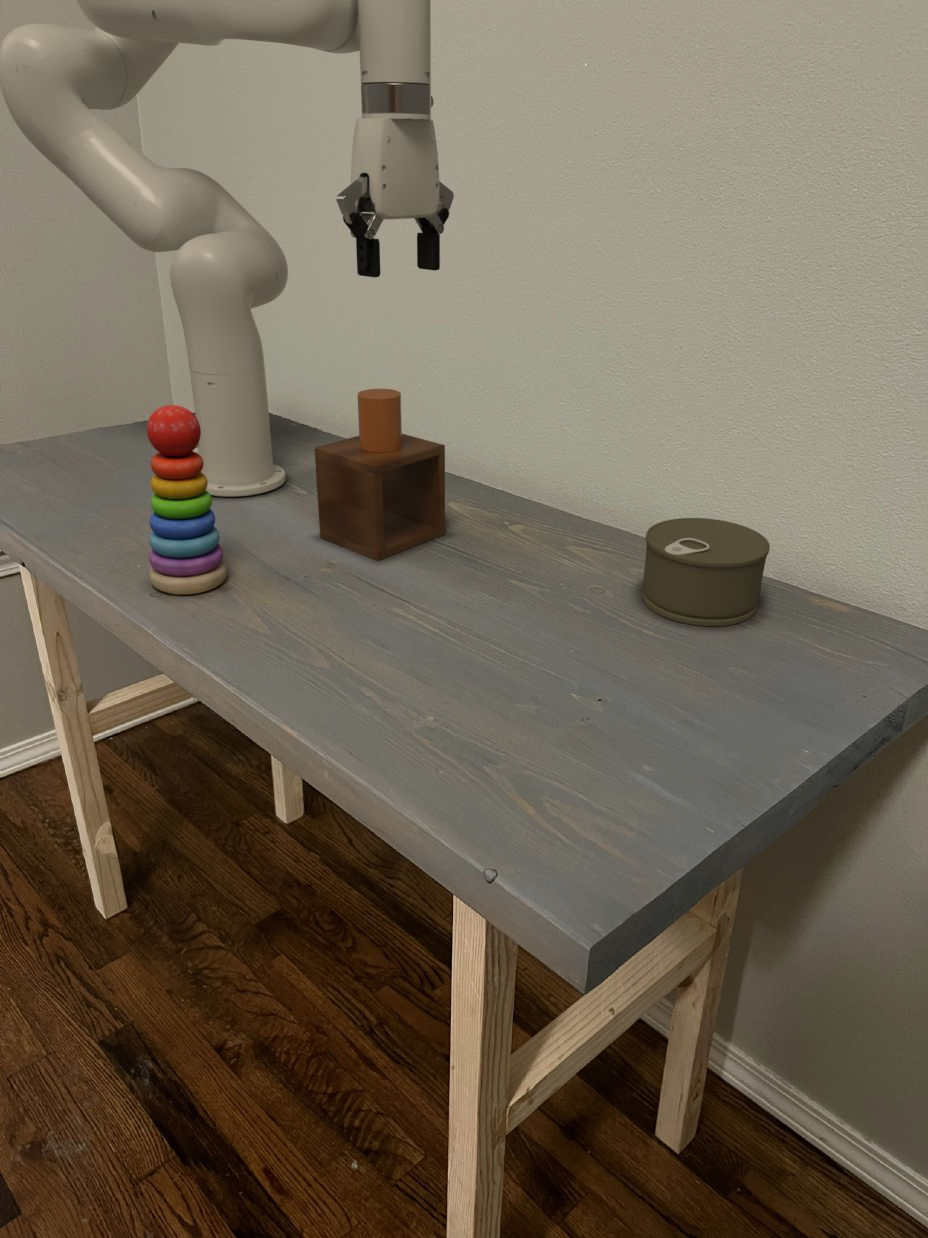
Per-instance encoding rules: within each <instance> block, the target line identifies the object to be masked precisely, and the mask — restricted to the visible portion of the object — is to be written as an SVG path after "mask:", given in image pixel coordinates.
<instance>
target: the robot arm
mask: <svg viewBox="0 0 928 1238" xmlns="http://www.w3.org/2000/svg"><path fill="white" fill-rule="evenodd" d="M76 1H77V4H78V6H79V8H80V10H81V12H82V13H83V14H84V16H85V17H86V19H87V20H89V22H90V23H91V24H93V25H94V26H95V28H94V30H90V29H83V28H78V27H72V26H66V25H60V24H55V23H44V22H39V23H37V22H36V23H30V24H24V25H21V26H19V27H16V28H14V29H13V30H11V31H10V32H9V33H7V35H6V36H4V38H3V40H2V42H1V44H0V90H1V92H2V97H3V99H4V102H5V104H6V107H7V109H8V111H9V113H10V116H11V118H12V119H13V121H14V123H15V124H16V125H17V127H18V129H19V130H20V131H21V133H22V134H23V136H24V137H25V138H26V139H27V140H28V141H29V142H30V143H31V145H32V146H33V147H34V148H35V149H36V150H37V151H38V152H39V153H40V154H41V155H42V156H44V158H46V159H47V160H48V161H49V162H50V163H51V164H52V165H53V166H55V168H57V169H58V170H59V171H60V172H61V173H62V174H63V175H64V176H66V177H67V178H68V179H69V180H70V181H71V182H72V183H73V184H74V185H75V186H76V187H77V188H78V189H79V190H80V191H81V192H82V193H83V194H84V195H85V196H86V197H87V198H88V199H89V200H90V201H91V202H92V203H93V204H94V205H95V206H96V207H97V208H98V209H99V210H100V211H101V212H102V213H103V214H104V215H105V216H106V217H107V218H108V219H109V220H111V222H112V223H113V224H114V225H115V226H117V228H119V229H120V230H121V232H122V233H123V234H125V235H126V236H127V237H128V238H129V240H131V241H132V242H133V243H134V244H135V245H137V246H138V247H140V248H141V249H143V250H145V251H149V252H153V253H165V252H174V251H176V252H175V254H174V256H173V258H172V261H171V264H170V271H169V272H170V275H169V276H170V277H169V278H170V286H171V292H172V294H173V298H174V302H175V304H176V307H177V310H178V314H179V318H180V321H181V325H182V330H183V334H184V341H185V346H186V347H185V348H186V354H187V361H188V370H189V374H190V383H191V391H192V400H193V407H194V415H195V417H196V418H197V420H198V422H199V425H200V429H201V436H200V440H199V443H198V446H197V447H196V448H195V449H194V450H193V451H194V452H196V453H198V454H199V455H200V456H201V457H202V459H203V463H204V465H203V469H202V471H201V472H202V473H203V474H204V475H205V476H206V478H207V481H208V484H207V488H206V491H208V492H209V493H210V495H211V496H213V497H215V496H216V497H225V498H227V497H228V498H229V497H231V498H232V497H249V496H256V495H261V494H264V493H268V492H271V491H274V490H276V489H278V488H279V487H281V486H282V485H284V484H285V482H286V480H287V479H286V470H285V469H283V468H282V467H281V466H279V465H278V464H274V458H273V446H272V436H271V425H270V422H271V421H270V412H269V411H270V410H269V400H268V391H267V390H268V388H267V377H266V376H267V375H266V366H265V355H264V347H263V343H262V339H261V335H260V332H259V329H258V325H257V324H256V321H255V318H254V315H253V311H252V309H255V308H258V307H261V306H264V305H266V304H269V303H271V302H273V301H274V300H276V299H278V297H280V296H281V294H282V293H283V292H284V290H285V288H286V285H287V283H288V279H289V265H288V262H287V257H286V255H285V254H284V251H283V249H282V248H281V246H280V245H279V243H278V241H276V239H275V238H274V237H273V236H272V234H270V232H269V231H268V229H266V228H265V227H264V226H263V225H261V223H260V222H259V221H258V220H257V219H256V218H255V217H253V215H252V214H251V213H250V212H249V211H248V210H247V209H246V208H245V207H243V206H242V204H240V202H238V201H237V199H236V198H234V197H233V196H232V194H231V193H229V192H228V191H227V190H226V189H225V188H224V187H223V186H222V185H221V184H220V183H219V182H217V180H215V179H213V178H212V177H211V176H209V175H207V174H205V173H203V172H201V171H199V170H196V169H192V168H187V167H164V166H161V165H158V164H156V163H155V162H154V161H152V160H151V159H150V158H149V157H147V156H146V155H145V154H144V153H143V152H142V151H141V150H140V149H138V147H136V146H135V145H134V144H133V143H132V142H131V140H130V139H128V137H126V135H125V134H124V133H122V132H121V131H120V130H119V129H118V128H117V127H115V126H114V125H112V124H111V123H110V122H109V121H107V120H105V119H104V118H102V117H101V116H100V115H98V114H96V113H95V111H92V110H99V111H100V110H101V111H110V110H115V109H119V108H121V107H123V106H125V105H126V104H128V103H129V102H131V101H132V100H133V99H135V97H136V96H137V95H138V94H139V93H140V92H141V90H142V89H143V88H144V87H145V86H146V84H148V82H149V80H150V79H151V78H153V76H154V75H155V74H156V72H157V71H158V70H159V69H160V67H162V66H163V64H164V63H165V61H167V59H168V58H169V57H170V56H171V54H172V53H173V52H174V50H175V49H176V48H177V46H178V45H179V44H187V45H199V46H205V47H207V46H208V47H214V46H218V45H220V44H221V43H222V42H223V41H224V40H243V41H253V42H254V41H255V42H265V43H273V44H274V43H275V44H282V45H283V44H284V45H292V46H297V47H303V48H309V49H314V50H318V51H322V52H326V53H330V54H338V55H340V54H341V55H342V54H344V55H345V54H351V53H355V52H356V53H357V52H359V68H360V69H359V70H360V71H359V73H360V99H361V100H360V103H361V104H360V105H361V118H356V119H355V120H356V121H355V124H354V125H355V126H354V131H353V139H352V148H351V166H350V167H351V168H350V169H351V170H350V184H349V185H348V186H347V187H345V188H344V189H343V190H342V191H340V192H339V193H338V194H337V195H336V198H335V199H336V203H337V205H338V208H339V210H340V213H341V215H342V221H343V223H344V224H345V225H346V226H347V228H348V229H349V231H350V236H351V237H352V238H355V246H356V248H355V249H356V273H357V275H358V276H360V277H367V278H368V277H369V278H380V276H381V244H380V239H379V238H375V237H376V235H377V233H378V231H379V230H380V228H381V225H382V223H383V222H384V220H406V219H407V220H408V219H414V221H415V222H416V224H417V226H418V228H419V229H420V231H421V232H417V235H416V266H417V268H418V269H420V270H427V271H439V270H440V268H441V235H443V233H444V231H445V224H446V222H447V220H448V219H449V217H450V210H451V206H452V203H453V201H454V197H455V195H454V192H453V190H451V189H450V188H449V187H447V186H446V185H445V184H444V183H442V181H440V167H439V166H440V165H439V154H438V153H439V152H438V144H437V136H436V129H435V125H434V120H432V108H433V106H434V97H433V96H432V86H431V85H432V74H431V73H432V71H431V70H432V69H431V68H432V65H431V62H432V61H431V56H432V55H431V52H432V51H431V50H432V49H431V48H432V47H431V39H432V37H431V36H432V35H431V33H432V32H431V0H76Z"/></svg>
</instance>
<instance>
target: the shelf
mask: <svg viewBox="0 0 928 1238" xmlns="http://www.w3.org/2000/svg"><path fill="white" fill-rule="evenodd" d="M314 463H315V464H314V465H315V478H316V479H315V480H316V492H317V494H316V495H317V509H318V524H319V538H320V539H322V540H324V541H326V542H329V543H331V544H334V545H337V546H340V547H343V548H345V549H347V550H350V551H353V552H355V553H358V554H360V555H361V556H364V557H368V558H370V559H372V560H375V561H377V562H379V561H381V560H384V559H386V558H389V557H391V556H394V555H396V554H400V553H401V552H404V551H406V550H409V549H411V548H414V547H417V546H419V545H422V544H424V543H427V542H430V541H431V540H435V539H437V538H440V537H443V536H444V535H446V445H445V444H442V443H438V442H435V441H431V440H427V439H424V438H420V437H418V436H413V435H409V434H406V433H402V447H401V448H400V449H398V450H396V451H391V452H369V451H365V450H362V449H361V448H360V442H359V435H356V436H352V437H349V438H345V439H341V440H337V441H334V442H333V441H332V442H329V443H327V444H322V445H319V446H315V447H314Z"/></svg>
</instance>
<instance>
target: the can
mask: <svg viewBox="0 0 928 1238" xmlns="http://www.w3.org/2000/svg"><path fill="white" fill-rule="evenodd" d="M645 543H646V549H645V558H644V559H645V560H644V569H643V570H644V571H643V580H642V581H643V582H642V589H641V600H642V602H643V604H644V605H645V606H646V607H647V608H648V609H649V610H650V611H652V612H654V614H657V615H659V616H660V617H662V618H665V619H668V620H671V621H674V622H678V623H681V624H685V625H691V626H698V627H699V626H700V627H727V626H733V625H738V624H741V623H743V622H746V621H748V620H750V619H752V617H754V615H756V612H757V611H758V604H759V599H760V593H761V587H762V582H763V577H764V571H765V567H766V566H765V565H766V561H767V557H768V555H769V552H770V543H769V541H768V539H767V538H766V537H765V536H764V535H762V534H761V533H759V532H758V531H756V530H754V529H752V528H750V527H749V526H748V527H747V526H745V525H742V524H739V523H735V522H730V521H726V520H721V519H714V518H707V517H706V518H705V517H680V518H673V519H667V520H664V521H663V520H662V521H660V522H657V523H656V524H653V525H651V526H650V527H649V528H648V529H647V531H646V533H645Z"/></svg>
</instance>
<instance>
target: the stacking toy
mask: <svg viewBox="0 0 928 1238" xmlns="http://www.w3.org/2000/svg"><path fill="white" fill-rule="evenodd" d="M146 434H147V438H148V441H149V443H150V444H151V446H152V448H153V449H154V450H155V451H156V452H157V453H155V454H154V455H153V456H152V457H151V460H150V468H151V471H152V472H153V474H154V475H153V476H152V477H151V479H150V489H151V490H152V492H153V493H154V494H153V495H152V496H151V499H150V507H151V510H152V511H153V513H151V515H150V517H149V521H148V522H149V523H148V524H149V528H150V530H151V533H150V535H149V539H148V541H149V542H148V543H149V546H150V548H151V549H150V551H149V554H148V562H149V564H150V566H151V567H150V569H149V572H148V580H149V582H150V583H151V585H152V586H153V587H154V589H157V590H159V591H160V592H163V593H165V594H166V593H167V594H171V595H196V594H200V593H204V592H207V591H210V590H213V589H215V588H217V587H218V586H220V585H221V584H222V583H223V582H224V581H225V579H226V578H227V574H228V569H227V565H226V563H225V562H224V560H223V559H224V549H223V548H222V546H221V544H220V539H221V538H220V532H219V530H218V529H217V527H216V526H215V524H216V515H215V512H214V511H213V510H212V508H211V507H212V505H213V498H212V497H213V496H212V495H210V493H209V492H208V491H206V488H207V484H208V481H207V478H206V476H205V475H204V474H203V473H202V472H201V471H202V469H203V465H204V463H203V459H202V457H201V456H200V455H199V454H198V453H196V452H194V451H193V450H194V449H195V448H197V447H198V446H199V440H200V436H201V429H200V425H199V422H198V420H197V418H196V416H195V413H193V411H191V410H190V409H188V408H186V407H184V406H181V405H178V404H169V405H168V404H167V405H163V406H160V407H159V408H158V409H157V408H156V409H155V410H154V411H153V412H152V413H151V415H149V418H148V420H147V424H146Z"/></svg>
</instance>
